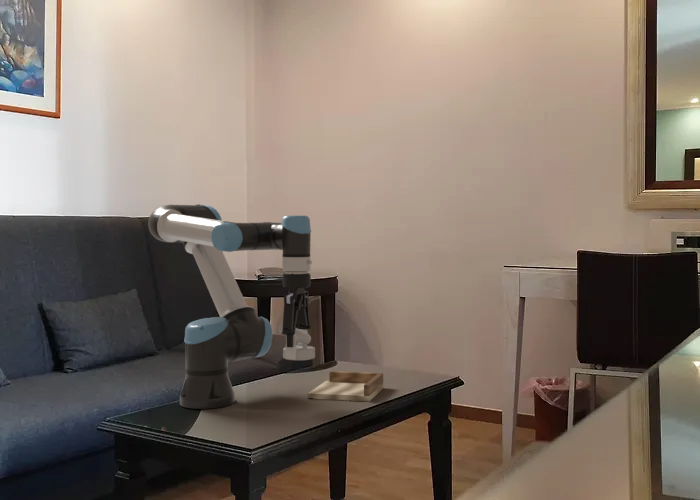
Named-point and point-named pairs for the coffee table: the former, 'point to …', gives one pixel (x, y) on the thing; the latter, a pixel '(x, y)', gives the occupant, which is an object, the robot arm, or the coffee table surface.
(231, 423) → the coffee table surface
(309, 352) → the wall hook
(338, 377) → the wooden corner jig board
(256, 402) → the coffee table surface
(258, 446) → the coffee table surface
